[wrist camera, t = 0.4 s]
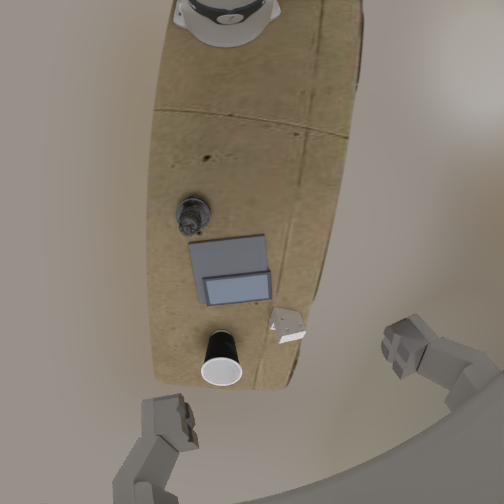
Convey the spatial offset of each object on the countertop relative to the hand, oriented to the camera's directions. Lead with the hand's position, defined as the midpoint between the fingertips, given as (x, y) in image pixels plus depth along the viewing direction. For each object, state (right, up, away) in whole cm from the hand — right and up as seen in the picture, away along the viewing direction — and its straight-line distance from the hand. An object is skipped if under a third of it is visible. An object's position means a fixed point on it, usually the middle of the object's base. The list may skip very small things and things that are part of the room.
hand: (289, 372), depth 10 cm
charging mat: (-5, +1, +47) cm, 48 cm away
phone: (-4, -2, +48) cm, 48 cm away
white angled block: (+6, -9, +53) cm, 54 cm away
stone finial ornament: (-12, +12, +42) cm, 46 cm away
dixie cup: (-8, -15, +54) cm, 56 cm away
